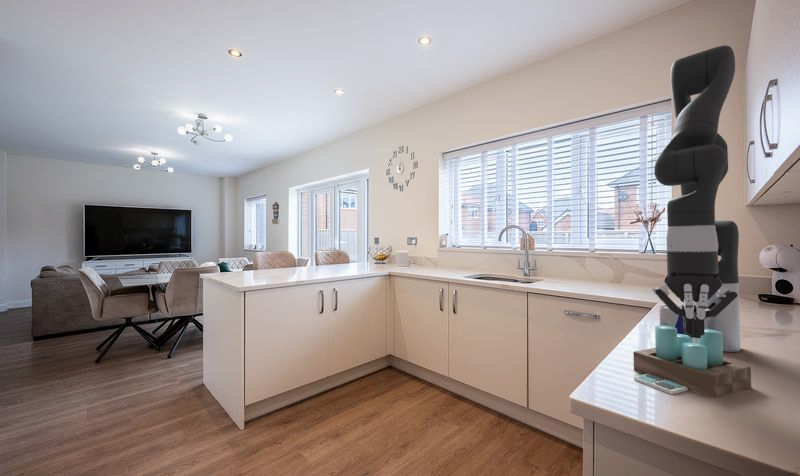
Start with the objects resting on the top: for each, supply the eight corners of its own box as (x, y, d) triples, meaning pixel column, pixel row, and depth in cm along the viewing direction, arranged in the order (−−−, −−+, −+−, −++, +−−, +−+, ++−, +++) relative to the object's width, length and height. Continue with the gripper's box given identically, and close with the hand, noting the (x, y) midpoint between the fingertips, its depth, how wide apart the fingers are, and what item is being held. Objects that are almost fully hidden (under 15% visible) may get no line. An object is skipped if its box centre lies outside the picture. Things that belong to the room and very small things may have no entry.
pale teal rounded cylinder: (663, 359, 71) (662, 324, 71) (682, 365, 68) (681, 329, 68) (651, 361, 70) (651, 326, 70) (670, 367, 66) (669, 330, 66)
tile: (648, 376, 68) (648, 372, 68) (687, 390, 62) (687, 386, 62) (633, 379, 67) (633, 375, 67) (672, 394, 60) (672, 390, 60)
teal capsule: (678, 366, 73) (677, 332, 73) (697, 372, 69) (696, 337, 69) (667, 368, 71) (666, 334, 71) (686, 375, 68) (685, 339, 68)
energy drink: (695, 361, 76) (693, 310, 76) (668, 360, 77) (667, 309, 77) (680, 353, 81) (679, 305, 81) (655, 352, 82) (654, 305, 83)
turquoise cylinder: (705, 364, 68) (704, 328, 68) (727, 370, 64) (726, 332, 65) (694, 366, 67) (693, 329, 67) (716, 373, 63) (715, 334, 63)
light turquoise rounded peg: (690, 378, 66) (689, 341, 66) (712, 386, 63) (711, 347, 63) (678, 381, 65) (677, 343, 65) (700, 389, 62) (699, 349, 62)
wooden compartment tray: (670, 362, 76) (669, 345, 76) (751, 387, 62) (750, 366, 63) (633, 369, 72) (633, 351, 72) (712, 398, 58) (711, 376, 59)
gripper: (727, 248, 65) (729, 335, 65) (645, 248, 70) (647, 328, 70) (747, 249, 58) (749, 346, 58) (655, 250, 64) (657, 338, 64)
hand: (693, 336), depth 64 cm, fingers closed
